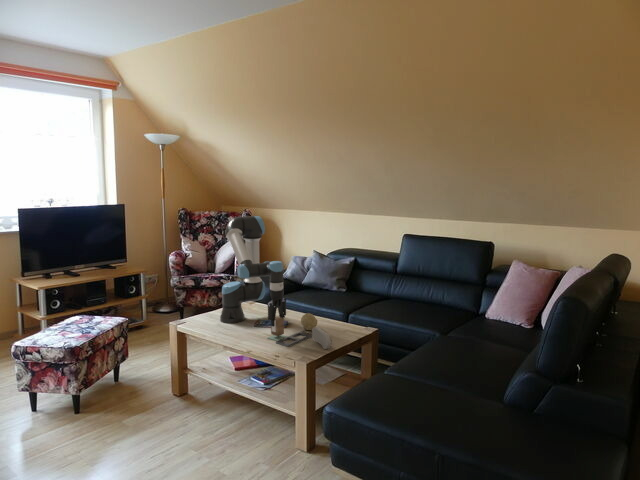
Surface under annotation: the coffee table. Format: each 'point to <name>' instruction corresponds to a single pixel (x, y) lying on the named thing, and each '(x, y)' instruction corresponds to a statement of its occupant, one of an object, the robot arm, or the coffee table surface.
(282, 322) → the walnut block
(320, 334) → the game controller
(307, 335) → the grey slotted board
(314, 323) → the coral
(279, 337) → the felt pad
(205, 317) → the coffee table surface
